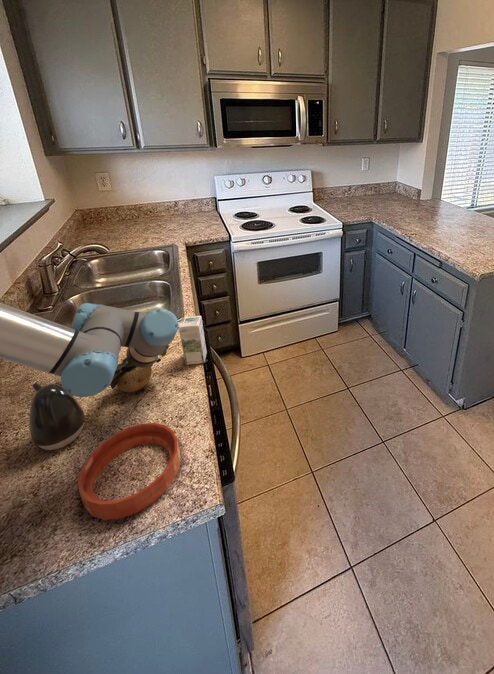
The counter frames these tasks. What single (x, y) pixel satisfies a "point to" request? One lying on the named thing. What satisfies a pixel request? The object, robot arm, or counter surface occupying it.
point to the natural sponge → (134, 379)
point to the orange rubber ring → (113, 449)
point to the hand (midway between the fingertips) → (129, 374)
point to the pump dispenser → (54, 417)
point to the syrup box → (193, 340)
